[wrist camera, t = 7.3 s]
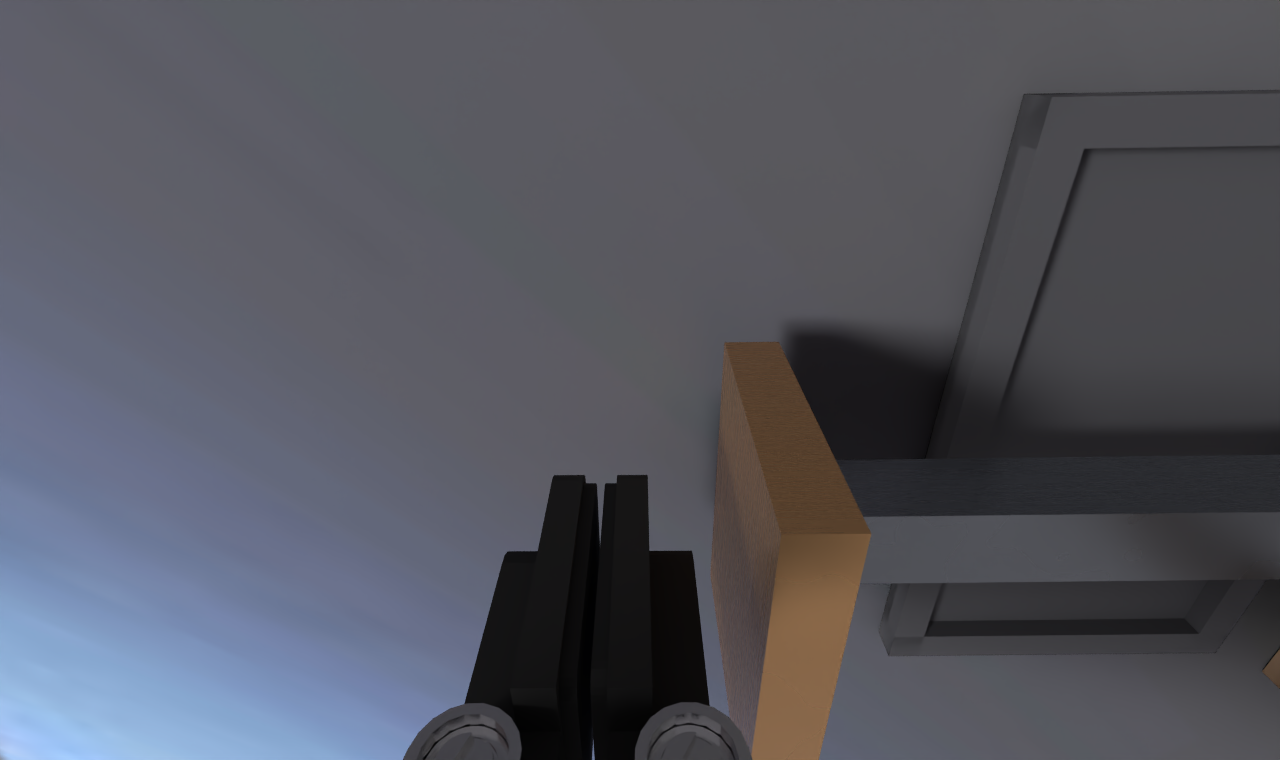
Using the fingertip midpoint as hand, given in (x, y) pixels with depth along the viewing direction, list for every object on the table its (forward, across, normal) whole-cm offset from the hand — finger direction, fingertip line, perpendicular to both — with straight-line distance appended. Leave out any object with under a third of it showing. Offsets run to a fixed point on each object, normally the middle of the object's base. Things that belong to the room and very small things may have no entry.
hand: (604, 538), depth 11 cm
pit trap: (+3, -12, 0) cm, 12 cm away
